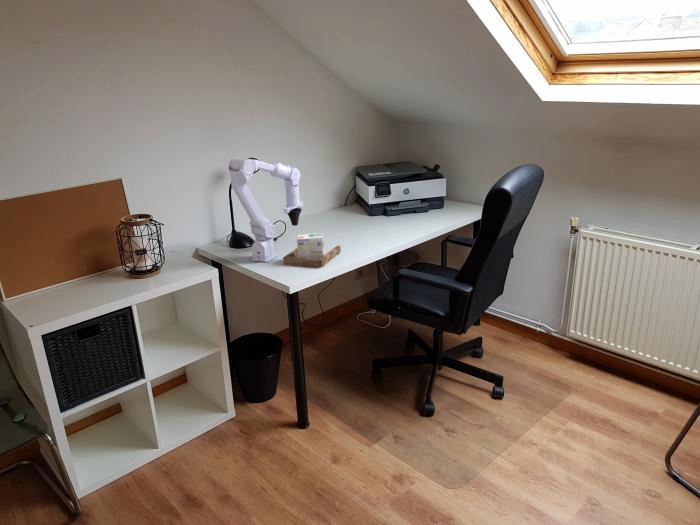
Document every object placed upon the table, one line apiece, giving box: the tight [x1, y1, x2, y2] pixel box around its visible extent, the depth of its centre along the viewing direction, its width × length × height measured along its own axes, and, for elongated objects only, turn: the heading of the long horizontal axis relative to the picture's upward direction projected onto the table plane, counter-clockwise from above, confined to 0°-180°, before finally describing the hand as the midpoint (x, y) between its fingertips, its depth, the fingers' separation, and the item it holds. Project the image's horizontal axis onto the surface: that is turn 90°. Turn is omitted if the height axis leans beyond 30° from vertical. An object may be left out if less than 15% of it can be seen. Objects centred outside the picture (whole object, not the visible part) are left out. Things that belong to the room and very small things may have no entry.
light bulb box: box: [296, 232, 326, 259], centre depth 239 cm, size 11×7×11 cm, turn 90°
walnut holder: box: [282, 244, 342, 268], centre depth 243 cm, size 20×17×3 cm
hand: (295, 225), depth 254 cm, fingers closed
